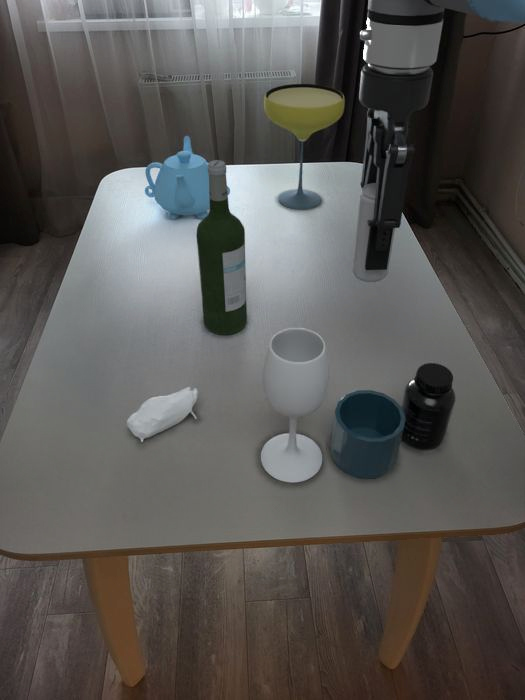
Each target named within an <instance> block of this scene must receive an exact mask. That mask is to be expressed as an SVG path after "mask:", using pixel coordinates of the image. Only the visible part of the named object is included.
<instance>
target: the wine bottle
mask: <svg viewBox="0 0 525 700" xmlns="http://www.w3.org/2000/svg"><path fill="white" fill-rule="evenodd" d="M208 163H209V165H208V173H209V198H210V209H209V210H208V215H206V216H205V217H204V218H201V220H200V221H199V223H198V225H197V227H196V235H195V236H196V248H197V258H198V270H199V282H200V292H201V294H200V295H201V305H202V314H203V315H202V316H203V324H204V327H205V328H206V329H207V330H208V331H209V332H211V333H213V334H215V335H218V336H219V335H220V336H230V335H235V334H236V333H239V332H241V331H242V330H243V329H244V328H245V327H246V325H247V323H248V310H247V306H248V305H247V269H246V265H247V264H246V232H245V231H246V230H245V226H244V224H243V223H242V222H241V220H240V219H239V218H238V217H237V216H236V215H234V214H233V213H232V212H231V210H230V205H229V195H228V193H227V186H228V183H227V165H226V162H225V161H223V160H222V159H221V160H219V159H214V160H211V161H209V162H208Z"/></svg>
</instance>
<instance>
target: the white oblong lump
mask: <svg viewBox="0 0 525 700" xmlns="http://www.w3.org/2000/svg"><path fill="white" fill-rule="evenodd" d="M197 389H198V388H197V387H196V388H195V387H193V389H192V387H191V386H187V387H186V388H183V389H181V390H179V391H176V392H173V393H171V394H168V395H159V396H154V397H150V398H149V399H147V400H145V401H144V402H142V403H141V405H140V406H139V408H138V410H137V411H135V412H134V413H132V414H130V416H129V418H128V419H127V421H126V427H127V428H128V429H129V430H130V432H131V433H132V434H133V436H134V437H137V438H138V439H140V442H141V443H144V439H149V438H151V437H153V436H155V435H157V434H158V433H162V432H165V430H168V429H170V428H171V427H173V426H176V425H178V424H179V423H181V422H182V421H183V420H184V419H186V417H187V416H188V415H189V414H191V415H192V417H193V418H194V419H195V420H197V419H198V417H197V416H196V414H195V413H194V411H193V407H194V405H195V404H196V403H197V399H198V393H199V391H198V390H197Z"/></svg>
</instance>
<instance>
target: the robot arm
mask: <svg viewBox="0 0 525 700" xmlns="http://www.w3.org/2000/svg"><path fill="white" fill-rule="evenodd" d="M367 2H368V4H367V16H366V17H367V20H366V25H367V26H366V27H367V28H366V29H363V30H362V29H361V30H360V31H359V40H360V41H364V47H363V48H364V49H363V57H362V58H363V60H364V61H365V62H366V64H364V66H363V67H361V71H360V82H359V93H358V101H359V102H360V104H361V105H362V106H363V107H365V108H367V109H368V110H367V112H366V117H367V118H366V119H367V121H366V122H367V123H366V135H365V143H364V151H363V152H364V153H363V160H362V161H363V162H362V169H361V170H362V171H361V178H360V184H359V185H360V189H362V188H363V187H364V186H365V185H367V184H371V183H376V194H375V208H374V219H373V220H367V224H368V226H370V231H369V239H368V246H367V254H366V262H365V269H366V270H387V265H388V259H389V253H390V246H391V240H392V234H393V228H395V229H400V227H401V224H402V216H403V210H404V204H405V200H406V199H405V198H406V192H407V186H408V181H409V180H408V179H409V175H410V168H411V164H412V161H413V158H414V154H415V151H416V149H415V145H414V144H412V143H411V144H408V143H409V142H410V140H411V135H412V134H411V133H412V125H410V124H409V120H410V119H409V117H410V115H411V114H412V113H413V112H416V111H421V110H422V109H424V108H425V107H427V105H428V103H429V100H430V95H431V89H432V83H433V79H434V78H433V77H434V71H433V69H432V67H431V66H432V65H434V64H435V63H436V62H437V59H438V55H439V54H438V53H439V47H440V42H441V36H442V30H443V25H444V15H445V9H448V10H452V11H456V12H460V13H464V14H468V15H472V16H476V17H479V18H482V19H486V20H487V21H488V22H493V23H500V22H509V23H516V24H517V23H518V24H525V0H368V1H367Z"/></svg>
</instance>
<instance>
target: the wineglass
mask: <svg viewBox="0 0 525 700" xmlns="http://www.w3.org/2000/svg"><path fill="white" fill-rule="evenodd" d="M265 352H266V353H265V356H264V361H263V367H262V388H263V393H264V397H265V399H266V401H267V402H268V405H270V407H272V409H273V410H275V411H276V412H277V413H278V414H280V415H281V416H284V417H287V418H289V432H288V433H281V434H278V435H276V436H273V437H272V438H270V439H269V440H268V441H267V442H265V444H264V445H263V447H262V449H261V452H260V462H261V465H262V467H263V469H264V470H265V471H266V473H267V474H268V475H269V476H271V477H272V478H274V479H276V480H278V481H280V482H283V483H291V484H293V483H295V484H296V483H301V482H305V481H308V480H310V479H311V478H313V477H314V476H315V475H316V474H317V473H318V472H319V471H320V470H321V467H322V464H323V453H322V450H321V448H320V447H319V445H318V444H317V443H316V442H315V441H314V440H313V439H312V438H309V437H308V436H306V435H303V434H299V433H297V428H298V419H299V418H304V417H307V416H309V415H311V414H313V413H314V412H316V411H317V410H318V409H319V408H320V407H321V406H322V405H323V403H324V401H325V399H326V397H327V393H328V389H329V382H330V362H329V361H330V360H329V354H328V349H327V345H326V342H325V339H324V338H323V337H322V336H321V335H320V334H319V333H318V332H315V331H314V330H311V329H308V328H304V327H289V328H285V329H282V330H280V331H278V332H276V333H275V334H274V335H273V336H272V337H271V338H270V340H269V343H268V346H267V350H266V351H265Z"/></svg>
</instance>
